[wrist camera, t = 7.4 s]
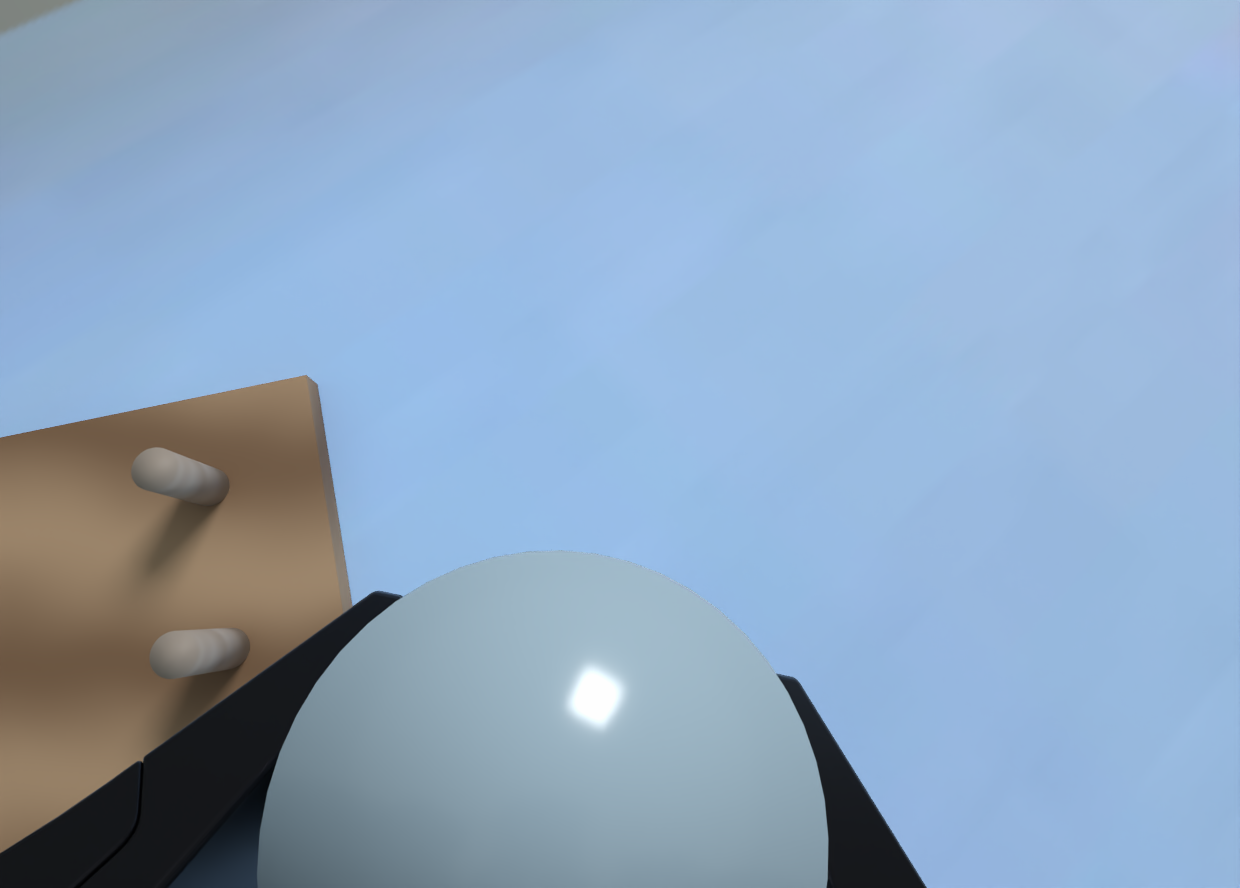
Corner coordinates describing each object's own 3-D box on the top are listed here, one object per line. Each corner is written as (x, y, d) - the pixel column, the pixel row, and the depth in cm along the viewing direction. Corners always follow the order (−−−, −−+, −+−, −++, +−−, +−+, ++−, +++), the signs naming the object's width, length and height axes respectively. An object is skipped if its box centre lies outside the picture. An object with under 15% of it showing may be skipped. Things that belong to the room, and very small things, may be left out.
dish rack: (397, 893, 21) (355, 957, 17) (-194, 1058, 19) (-388, 1170, 16) (317, 384, 24) (266, 341, 20) (-195, 489, 23) (-355, 465, 19)
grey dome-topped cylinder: (720, 660, 16) (921, 732, 7) (605, 868, 15) (645, 1318, 6) (535, 544, 17) (472, 454, 7) (410, 740, 16) (131, 951, 6)
